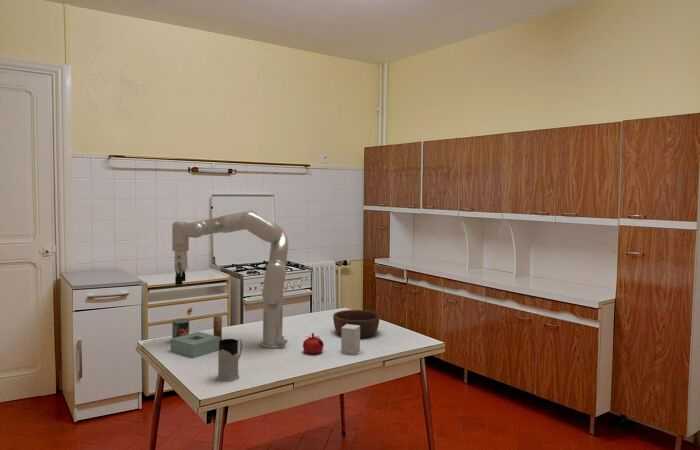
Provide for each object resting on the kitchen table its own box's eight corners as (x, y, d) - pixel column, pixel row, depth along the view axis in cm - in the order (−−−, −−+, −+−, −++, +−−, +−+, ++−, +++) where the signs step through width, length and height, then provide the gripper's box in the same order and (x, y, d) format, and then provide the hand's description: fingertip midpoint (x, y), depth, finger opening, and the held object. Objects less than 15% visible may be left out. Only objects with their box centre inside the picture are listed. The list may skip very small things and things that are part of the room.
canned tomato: (183, 345, 259) (183, 323, 258) (169, 344, 260) (169, 321, 259) (191, 340, 266) (191, 319, 266) (177, 339, 268) (177, 318, 267)
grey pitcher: (212, 379, 214) (212, 342, 213) (232, 368, 227) (232, 334, 226) (231, 382, 211) (231, 345, 210) (250, 371, 224) (250, 336, 223)
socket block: (220, 349, 253) (220, 337, 253) (193, 358, 240) (193, 345, 239) (197, 343, 262) (197, 331, 262) (170, 351, 249) (170, 338, 248)
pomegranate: (304, 356, 246) (304, 337, 245) (300, 350, 256) (300, 331, 255) (325, 354, 249) (325, 335, 248) (321, 348, 259) (321, 329, 258)
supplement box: (360, 351, 256) (360, 325, 255) (355, 355, 249) (356, 328, 248) (345, 349, 258) (346, 323, 257) (340, 353, 251) (341, 327, 250)
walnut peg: (223, 340, 268) (223, 317, 267) (217, 342, 264) (217, 318, 264) (217, 339, 270) (217, 315, 269) (211, 341, 267) (211, 317, 266)
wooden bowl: (387, 332, 290) (388, 314, 290) (364, 343, 269) (364, 323, 269) (349, 325, 304) (349, 307, 303) (323, 335, 283) (324, 316, 282)
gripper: (186, 249, 247) (186, 286, 248) (191, 245, 264) (190, 279, 265) (169, 249, 246) (169, 286, 247) (175, 245, 263) (175, 279, 264)
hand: (180, 282), depth 256 cm, fingers open, 9 cm apart
